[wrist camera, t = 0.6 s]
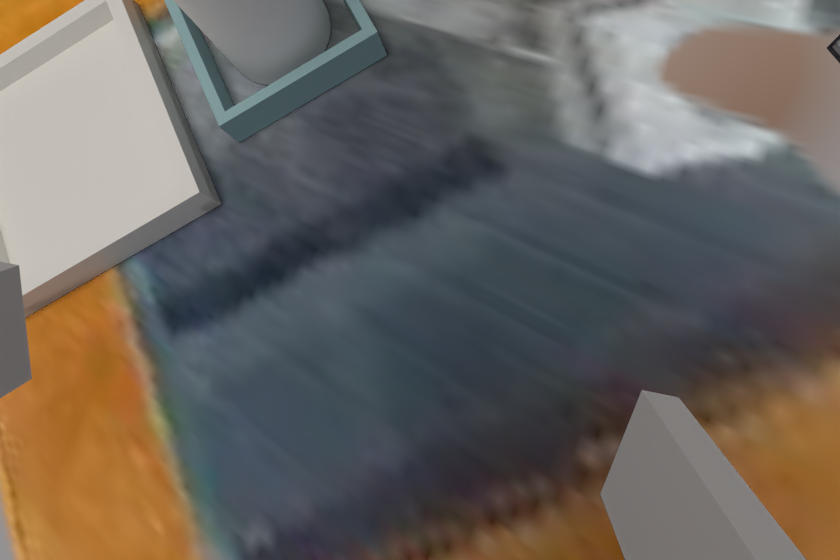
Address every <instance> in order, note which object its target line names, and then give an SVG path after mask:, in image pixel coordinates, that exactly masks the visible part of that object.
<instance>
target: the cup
mask: <svg viewBox="0 0 840 560" xmlns="http://www.w3.org/2000/svg"><path fill="white" fill-rule="evenodd" d="M173 1H174V2H175V3H176V4H177V5H178V6H179V7H180V8H181V9H182V10H183V11H184V13H185V14H186V15H187V16H188V17H189V18H190V19H191V20H192V21H193V22H194V23H195V24H196V25H197V26H198V28H199V29H200V30H201V31H202V32H203V33H204V34H205V35H206V36H207V37H208V38H209V39H210V40H211V41H212V43H213V44H214V45H215V46H216V47H217V48H218V49H219V50H220V51H221V52H222V53H223V54H224V55H225V56H226V58H227V59H228V60H229V61H230V62H231V63H232V64H233V65H234V66H235V67H236V68H237V69H238V70H239V71H240V73H241V74H243V75H244V76H245V77H246V78H248V79H249V80H251V81H253V82H256V83H259V84H263V85H270V84H272V83H273V82H275V81H277V80H278V79H280V78H282V77H283V76H285V75H287V74H288V73H290V72H292V71H293V70H295V69H297V68H298V67H300V66H302V65H303V64H305V63H307V62H308V61H310V60H312V59H313V58H315V57H317V56H318V55H320V54H322V53H323V52H324V51H325V49H326V47H327V45H328V42H329V38H330V32H331V22H330V17H329V13H328V11H327V8H326V6H325V4H324V2H323V1H322V0H173Z"/></svg>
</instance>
